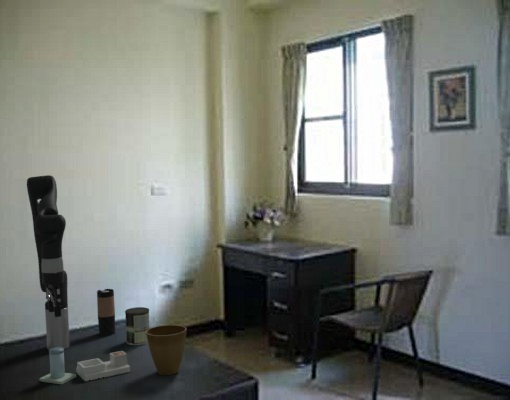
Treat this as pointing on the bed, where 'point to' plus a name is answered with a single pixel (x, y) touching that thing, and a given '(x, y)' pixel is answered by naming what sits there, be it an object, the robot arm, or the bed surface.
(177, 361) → the plant pot
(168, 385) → the bed surface
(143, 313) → the coffee can
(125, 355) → the housing
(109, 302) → the travel mug
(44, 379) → the mat
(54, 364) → the blue-grey elongated rounded piece
